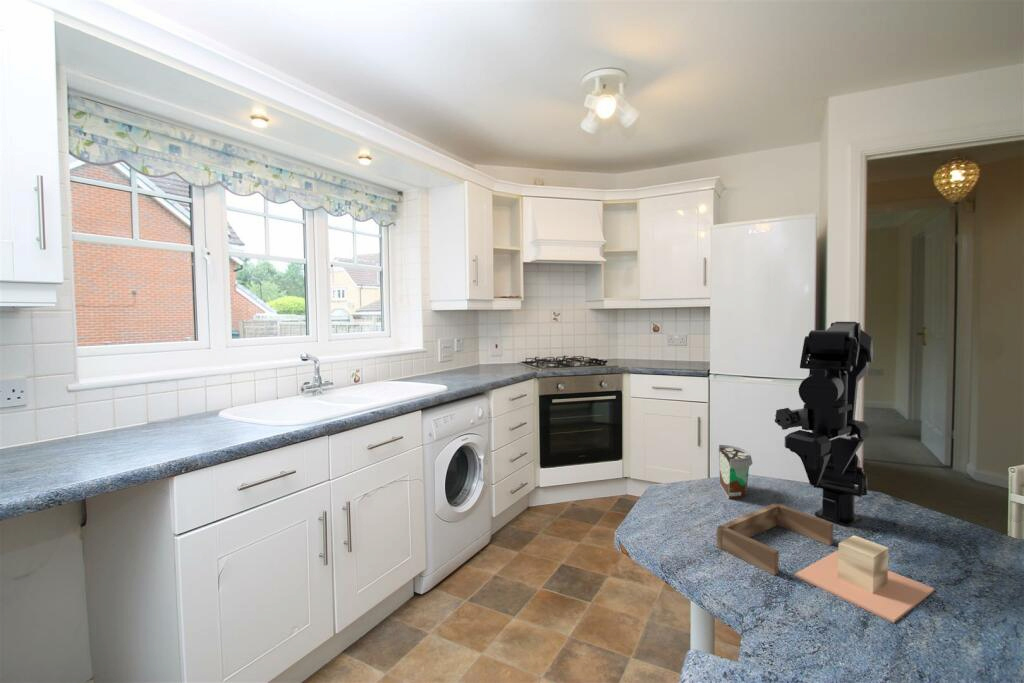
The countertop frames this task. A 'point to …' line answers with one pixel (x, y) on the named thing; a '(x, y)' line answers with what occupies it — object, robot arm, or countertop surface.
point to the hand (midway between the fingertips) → (826, 479)
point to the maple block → (863, 563)
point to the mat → (883, 602)
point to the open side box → (741, 529)
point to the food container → (734, 470)
